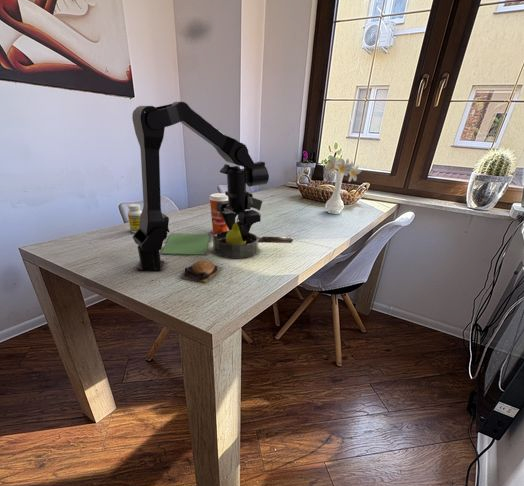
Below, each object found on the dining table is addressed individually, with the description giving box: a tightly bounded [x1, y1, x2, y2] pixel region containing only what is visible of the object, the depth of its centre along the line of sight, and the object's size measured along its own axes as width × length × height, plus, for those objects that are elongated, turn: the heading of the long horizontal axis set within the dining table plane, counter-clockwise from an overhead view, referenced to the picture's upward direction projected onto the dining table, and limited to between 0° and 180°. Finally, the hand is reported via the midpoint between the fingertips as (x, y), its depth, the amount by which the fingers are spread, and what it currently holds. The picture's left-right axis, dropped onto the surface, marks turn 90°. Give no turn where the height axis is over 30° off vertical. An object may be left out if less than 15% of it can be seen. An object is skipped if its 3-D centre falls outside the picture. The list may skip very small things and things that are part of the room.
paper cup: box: [208, 192, 229, 235], centre depth 118 cm, size 8×8×14 cm
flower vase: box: [324, 156, 362, 215], centre depth 152 cm, size 13×18×25 cm
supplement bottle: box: [127, 203, 142, 234], centre depth 115 cm, size 5×5×10 cm
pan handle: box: [256, 236, 294, 244], centre depth 105 cm, size 13×2×2 cm, turn 94°
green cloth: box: [160, 233, 210, 256], centre depth 109 cm, size 20×14×1 cm
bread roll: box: [181, 259, 221, 283], centre depth 89 cm, size 11×8×4 cm
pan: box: [212, 230, 259, 259], centre depth 105 cm, size 15×15×4 cm
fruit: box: [226, 217, 246, 245], centre depth 103 cm, size 7×7×12 cm
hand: (238, 237), depth 104 cm, fingers closed on fruit, 7 cm apart
